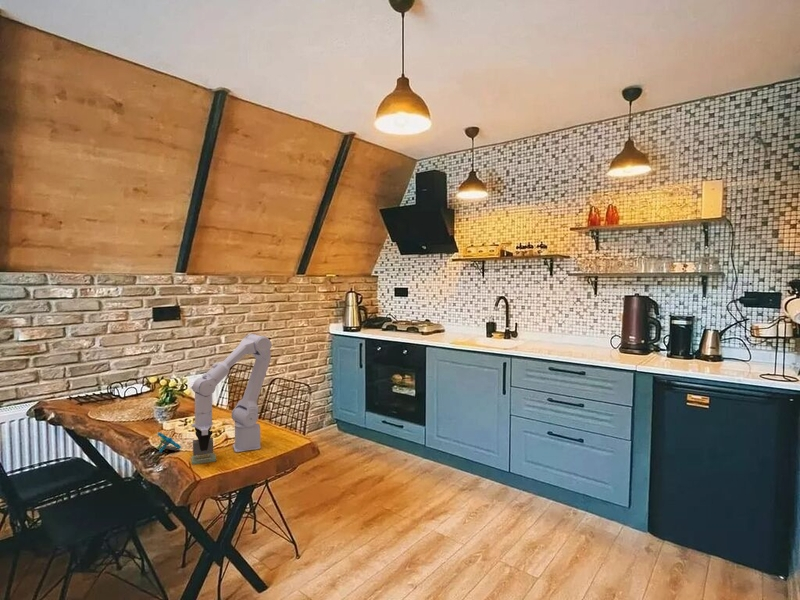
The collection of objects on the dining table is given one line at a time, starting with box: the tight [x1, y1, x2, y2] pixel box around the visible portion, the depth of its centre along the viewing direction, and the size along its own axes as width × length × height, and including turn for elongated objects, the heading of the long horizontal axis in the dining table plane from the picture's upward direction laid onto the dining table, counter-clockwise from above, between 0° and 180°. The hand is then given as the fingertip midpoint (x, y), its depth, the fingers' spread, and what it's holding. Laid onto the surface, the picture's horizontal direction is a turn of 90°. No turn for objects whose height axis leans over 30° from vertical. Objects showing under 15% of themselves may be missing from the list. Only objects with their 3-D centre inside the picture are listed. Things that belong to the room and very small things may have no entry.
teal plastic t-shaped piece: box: [156, 432, 182, 453], centre depth 174 cm, size 11×6×10 cm
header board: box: [190, 452, 217, 466], centre depth 167 cm, size 8×6×3 cm
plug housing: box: [192, 437, 214, 456], centre depth 166 cm, size 7×4×4 cm, turn 116°
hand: (203, 448), depth 166 cm, fingers closed on plug housing, 4 cm apart
